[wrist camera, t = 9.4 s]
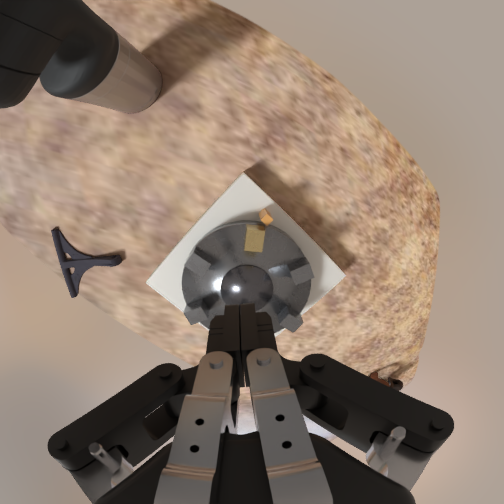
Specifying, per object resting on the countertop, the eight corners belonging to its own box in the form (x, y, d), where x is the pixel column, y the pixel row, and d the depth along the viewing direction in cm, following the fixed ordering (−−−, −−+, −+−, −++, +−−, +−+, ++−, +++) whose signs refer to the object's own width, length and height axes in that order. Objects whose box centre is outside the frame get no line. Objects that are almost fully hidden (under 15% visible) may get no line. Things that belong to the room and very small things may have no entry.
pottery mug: (361, 398, 63) (360, 413, 55) (355, 370, 64) (355, 383, 56) (402, 387, 59) (406, 402, 51) (398, 358, 60) (403, 371, 52)
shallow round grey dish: (186, 214, 40) (180, 222, 35) (318, 228, 41) (328, 238, 37) (184, 325, 46) (179, 342, 42) (294, 333, 48) (299, 351, 44)
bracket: (132, 291, 48) (127, 299, 45) (73, 294, 48) (67, 300, 45) (114, 218, 43) (108, 222, 40) (54, 228, 43) (46, 232, 40)
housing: (150, 274, 46) (138, 294, 40) (243, 171, 41) (243, 175, 34) (248, 348, 53) (249, 372, 46) (340, 268, 47) (354, 286, 41)
